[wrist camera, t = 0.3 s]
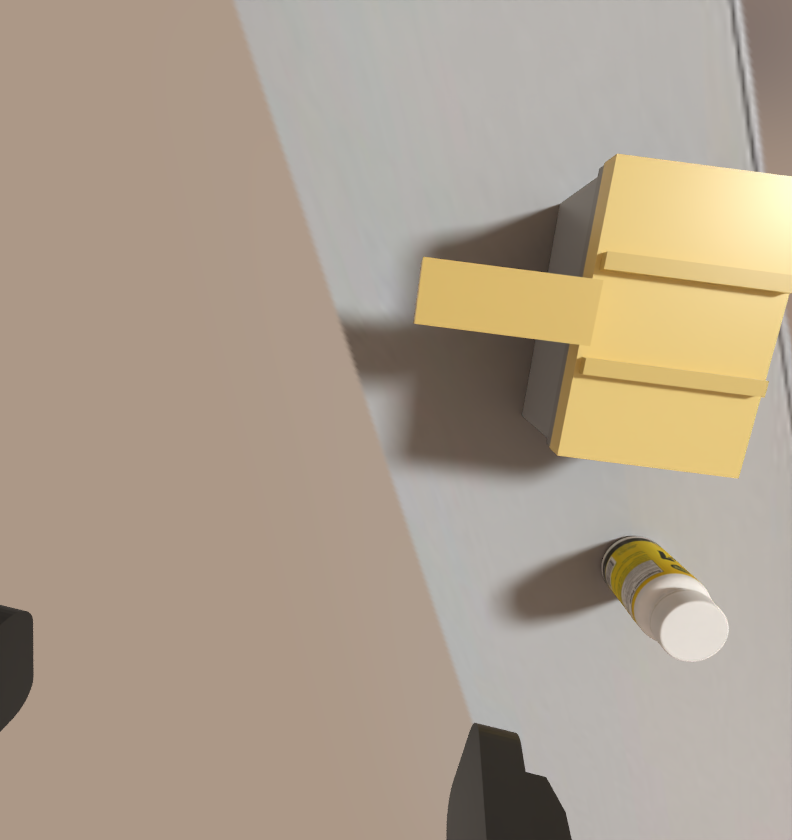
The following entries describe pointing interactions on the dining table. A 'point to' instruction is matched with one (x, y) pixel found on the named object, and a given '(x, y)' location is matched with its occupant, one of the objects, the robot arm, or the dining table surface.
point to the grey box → (564, 261)
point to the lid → (649, 313)
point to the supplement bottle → (664, 599)
